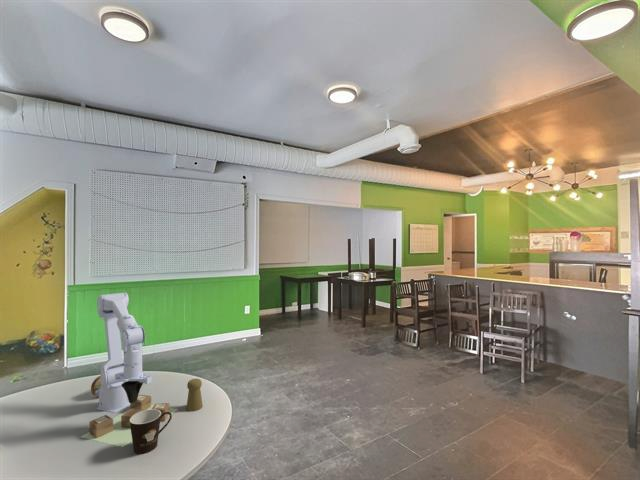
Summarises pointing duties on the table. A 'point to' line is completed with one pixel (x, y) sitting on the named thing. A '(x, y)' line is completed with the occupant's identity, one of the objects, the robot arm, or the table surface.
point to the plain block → (128, 417)
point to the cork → (194, 395)
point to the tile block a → (101, 426)
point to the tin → (96, 386)
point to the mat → (118, 432)
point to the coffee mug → (146, 430)
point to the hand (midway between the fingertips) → (133, 401)
